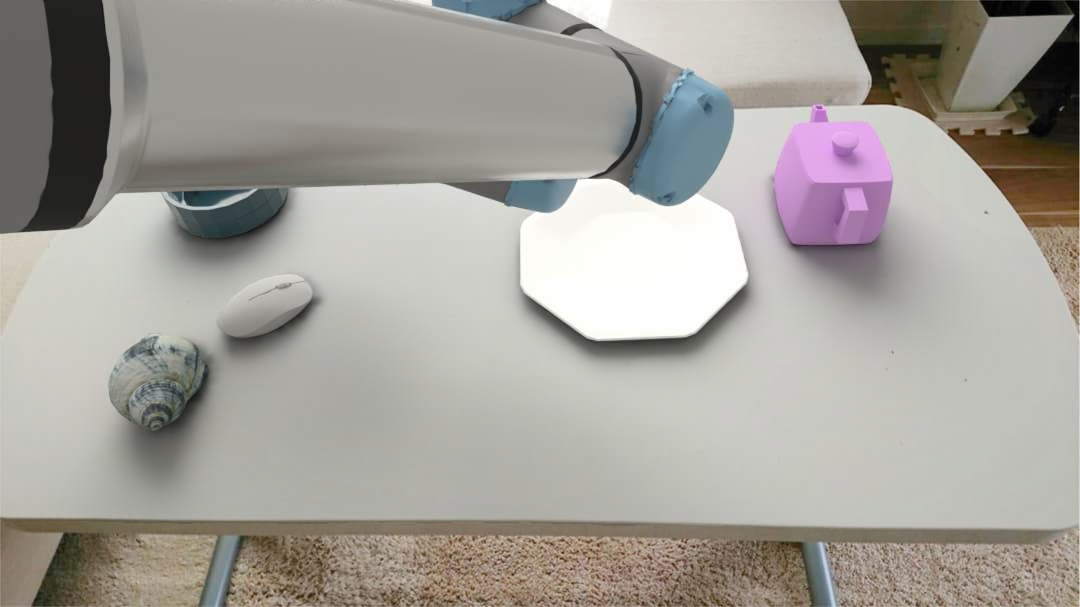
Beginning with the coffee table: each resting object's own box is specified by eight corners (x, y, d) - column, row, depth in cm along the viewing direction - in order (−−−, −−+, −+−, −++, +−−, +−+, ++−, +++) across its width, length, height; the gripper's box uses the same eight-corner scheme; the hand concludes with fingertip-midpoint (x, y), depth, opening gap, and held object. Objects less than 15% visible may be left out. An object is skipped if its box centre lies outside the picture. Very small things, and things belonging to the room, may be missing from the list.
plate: (521, 352, 74) (520, 343, 73) (521, 190, 89) (520, 180, 88) (761, 342, 73) (764, 333, 72) (720, 180, 88) (722, 170, 87)
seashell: (220, 357, 77) (169, 461, 70) (146, 334, 76) (85, 438, 68) (223, 324, 73) (169, 432, 65) (144, 299, 71) (79, 406, 64)
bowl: (198, 258, 84) (179, 227, 81) (164, 195, 92) (145, 163, 88) (306, 209, 89) (293, 177, 85) (265, 152, 96) (251, 120, 92)
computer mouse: (323, 302, 79) (315, 284, 77) (239, 355, 76) (228, 338, 73) (295, 272, 82) (286, 254, 80) (213, 322, 78) (201, 304, 76)
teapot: (760, 157, 90) (777, 85, 82) (849, 155, 90) (875, 82, 82) (788, 268, 79) (810, 197, 71) (890, 266, 78) (924, 194, 71)
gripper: (347, 231, 60) (137, 158, 67) (463, 99, 70) (271, 48, 78) (321, 158, 54) (95, 87, 61) (452, 26, 65) (245, -21, 72)
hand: (193, 66), depth 70 cm, fingers closed on beverage can, 6 cm apart
